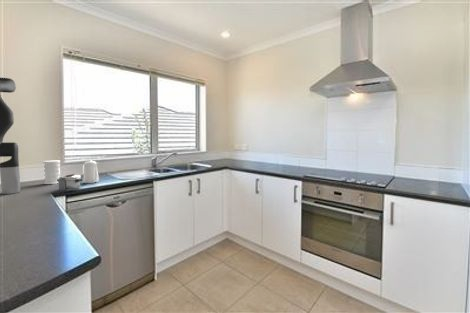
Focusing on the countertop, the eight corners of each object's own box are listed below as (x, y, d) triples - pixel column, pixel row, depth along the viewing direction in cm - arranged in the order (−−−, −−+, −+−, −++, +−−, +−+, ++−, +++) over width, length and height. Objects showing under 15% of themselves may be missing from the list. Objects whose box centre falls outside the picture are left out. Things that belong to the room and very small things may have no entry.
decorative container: (61, 183, 189) (60, 161, 188) (43, 185, 183) (41, 162, 181) (62, 181, 199) (61, 160, 197) (45, 183, 193) (43, 160, 191)
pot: (72, 191, 161) (71, 179, 160) (50, 191, 162) (50, 179, 161) (87, 187, 174) (86, 176, 174) (67, 187, 176) (66, 176, 175)
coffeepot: (92, 184, 184) (91, 160, 182) (76, 181, 197) (75, 159, 195) (106, 182, 193) (105, 159, 191) (90, 179, 206) (89, 158, 205)
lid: (70, 179, 161) (70, 176, 161) (54, 179, 163) (53, 176, 162) (84, 176, 174) (84, 173, 174) (68, 176, 175) (68, 173, 175)
